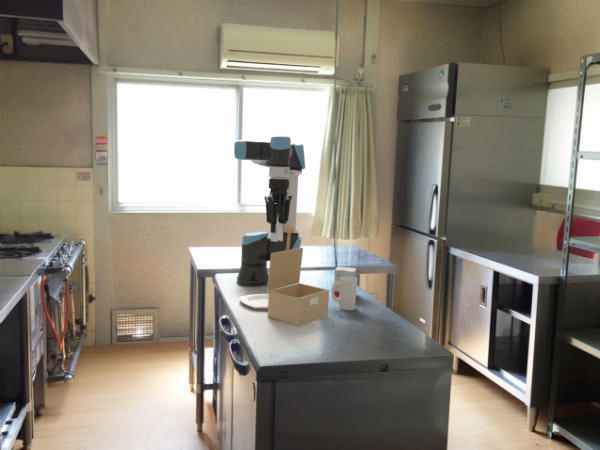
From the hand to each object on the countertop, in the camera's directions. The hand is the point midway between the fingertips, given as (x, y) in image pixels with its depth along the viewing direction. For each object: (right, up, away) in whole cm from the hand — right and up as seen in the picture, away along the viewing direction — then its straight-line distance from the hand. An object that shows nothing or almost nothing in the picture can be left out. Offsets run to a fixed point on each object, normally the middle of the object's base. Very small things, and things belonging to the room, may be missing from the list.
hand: (276, 240), depth 213 cm
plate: (-5, -26, +12) cm, 29 cm away
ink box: (+28, -25, +30) cm, 48 cm away
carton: (+8, -28, -4) cm, 29 cm away
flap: (+5, -6, -4) cm, 9 cm away
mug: (+26, -27, +10) cm, 39 cm away
